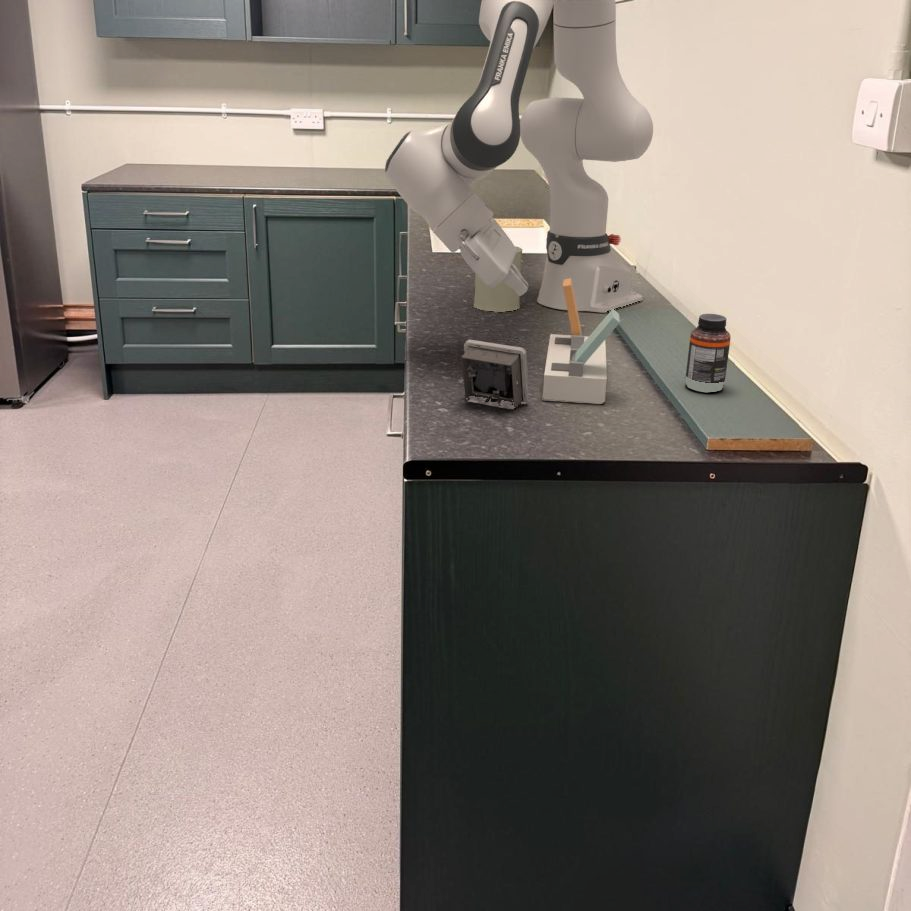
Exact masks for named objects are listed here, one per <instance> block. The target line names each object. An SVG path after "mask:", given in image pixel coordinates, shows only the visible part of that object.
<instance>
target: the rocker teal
mask: <svg viewBox="0 0 911 911" xmlns="http://www.w3.org/2000/svg"><path fill="white" fill-rule="evenodd" d="M620 323H621V320H620V313H618V312H617V311H616V309H615V310H614V309H612V310H611V311H609V313H607V315H606V316H605V317H604V318H603V320H601V322H600V323H599V324H598V325H597V326H596V328H594V330H593V331H592V333H591V334H590V335H589V336H588V338H587V340H586V341H585V342H584V343H583V344H582V346H581V347H580V348H579V349H578V350H577V351H576V353H574V354H573V355H572V361H575V362H583V365H584V364H585V363H586V361H587V360H588V359H589V358H590V357H591V356H592V354H593V353H594V352H595V351H596V350H597V349H598V347H599V346H600V345H601V344H602V343H603V342H604V340H605V341H606V339H607V338H608V337H609V336H610V335H611V333H612V332H613V331H615V329H616V328H617V327H618V325H620Z"/></svg>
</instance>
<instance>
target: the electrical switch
mask: <svg viewBox="0 0 911 911" xmlns="http://www.w3.org/2000/svg"><path fill="white" fill-rule="evenodd" d="M463 350H464V354H462V355H461V357H460V358H461V359H460V360H461V368H462V370H461V371H462V378H463V388H464V389H463V390H464V396H465V397H464V398H465V400H466V398H468V397H469V396H475V397H483V398H488V400H490V399H492V397H494V398H497V400H496V401H499V400H504V401H509V402H514V407H516V406H517V405H518V406H520V405H521V404H520V403H521V402H526V404H527V403H528V402H529V400H530V393H529V378H528V362H527V361H528V360H527V359H528V358H527V350H525V348H523V347H519V346H512V345H507V344H500V343H494V342H487V341H483V340H482V341H481V340H473V339H468V340H466V341H465V343H464V344H463ZM476 394H477V395H476ZM488 396H489V397H488ZM468 399H469V398H468ZM488 400H487V401H488ZM492 400H493V399H492ZM512 400H513V401H512ZM499 402H500V401H499ZM518 406H517V407H518Z"/></svg>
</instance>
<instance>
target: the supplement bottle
mask: <svg viewBox="0 0 911 911" xmlns="http://www.w3.org/2000/svg"><path fill="white" fill-rule="evenodd" d="M697 323H698V325H697V327H695V328H694V329H692V331H691V332H690V335H689V336H690V337H689V346H688V353H687V354H688V355H687V362H686V369H685V370H686V372H685V377H686V376H687V377H688V378H690V379H692V380H695V381H699V382H705V383H719V382H724V381H725V382H726V375H727V368H728V361H729V353H730V352H729V351H730V346H731V340H732V339H731V334H730V332H729V331H728V330H727V328H726V327H727V317H726V316H724V315H721V314H716V313H703V314H700V315H699V316H698V321H697Z"/></svg>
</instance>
